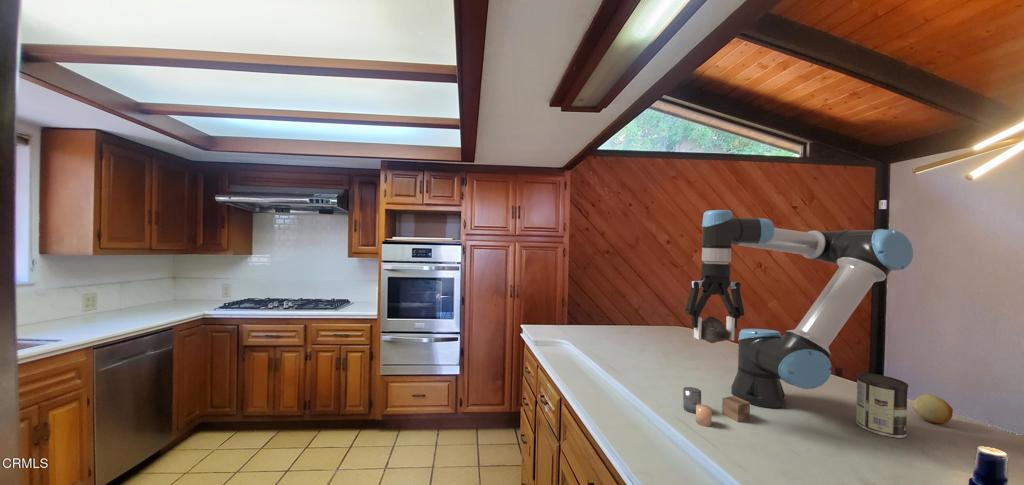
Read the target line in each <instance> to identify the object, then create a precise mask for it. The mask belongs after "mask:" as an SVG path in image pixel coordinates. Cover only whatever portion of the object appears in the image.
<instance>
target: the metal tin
mask: <svg viewBox="0 0 1024 485" xmlns="http://www.w3.org/2000/svg"><path fill="white" fill-rule="evenodd" d="M682 396H683V397H682V398H683V399H682V401H683V402H682V403H683V404H682V405H683V406H682V408H684V409H683V410H684V411H685V410H686V411H685V412H687V413H691V414H696V405H698V404H702V390H701V389H699V388H697V387H693V386H685V387H683V388H682Z"/></svg>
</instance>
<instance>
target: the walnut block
mask: <svg viewBox="0 0 1024 485" xmlns="http://www.w3.org/2000/svg"><path fill="white" fill-rule="evenodd" d="M721 404H722V405H721V409H722V410H721V415H723V416H725V417H727V418H728V419H731V420H733V421H735V422H737V423H739V422H743V421H748V420H750V417H751V415H750V414H751V404H750V402H747V401H745V400H743V399H740V398H738V397H736V396H733V395H731V396H726V397H722V403H721Z"/></svg>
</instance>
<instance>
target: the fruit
mask: <svg viewBox="0 0 1024 485" xmlns="http://www.w3.org/2000/svg"><path fill="white" fill-rule="evenodd" d="M911 407H912V409H913V411H914V412H915V414H916V415H917V416H918V417H919V418H922V419H923V420H925V421H926V422H930V423H933V424H938V425H944V424H947V423H948V422H950V420H951V419H952V418H953V413H954V412H953V411H954V408H952V406H951V405H950V404H949V403H948V402H947V401H946V400H944V399H943V398H941V397H939V396H937V395H933V394H927V393H926V394H925V393H924V394H921V395H919V396H917V397H916V399H914V400H913V401H912V406H911Z"/></svg>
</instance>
